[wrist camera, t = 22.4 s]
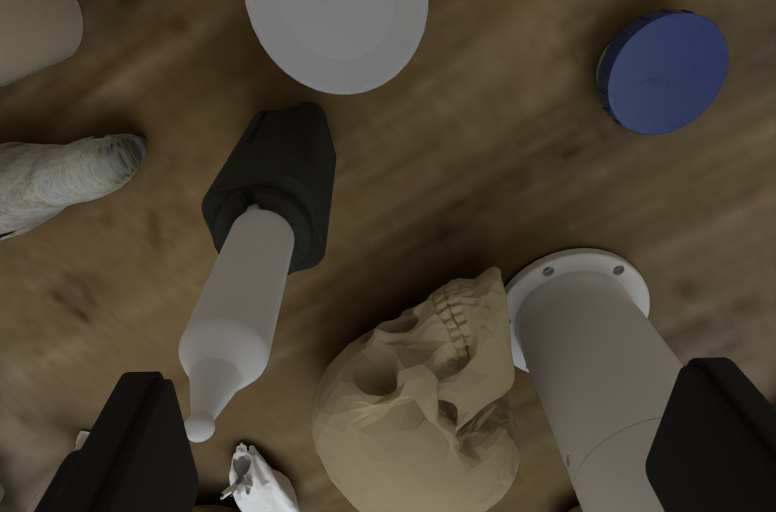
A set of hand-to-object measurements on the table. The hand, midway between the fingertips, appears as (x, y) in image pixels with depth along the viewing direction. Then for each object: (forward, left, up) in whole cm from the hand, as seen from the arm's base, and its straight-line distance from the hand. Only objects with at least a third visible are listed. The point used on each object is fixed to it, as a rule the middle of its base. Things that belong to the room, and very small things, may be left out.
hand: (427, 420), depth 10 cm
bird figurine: (-23, +28, -25) cm, 44 cm away
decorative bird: (+7, +23, -28) cm, 37 cm away
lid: (-7, -15, -24) cm, 29 cm away
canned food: (+6, -1, -28) cm, 29 cm away
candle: (-1, +7, -28) cm, 29 cm away
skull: (-20, -2, -22) cm, 30 cm away
